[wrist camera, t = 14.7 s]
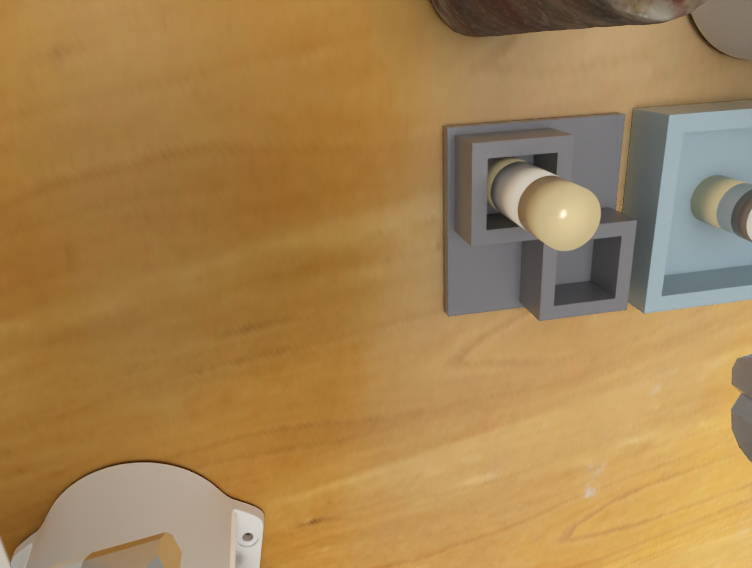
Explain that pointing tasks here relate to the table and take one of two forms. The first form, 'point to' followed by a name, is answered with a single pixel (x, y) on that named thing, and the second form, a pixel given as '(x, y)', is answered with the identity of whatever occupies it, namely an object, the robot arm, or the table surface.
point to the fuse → (542, 203)
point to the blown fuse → (724, 205)
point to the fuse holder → (516, 245)
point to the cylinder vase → (727, 26)
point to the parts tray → (686, 205)
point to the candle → (555, 14)
